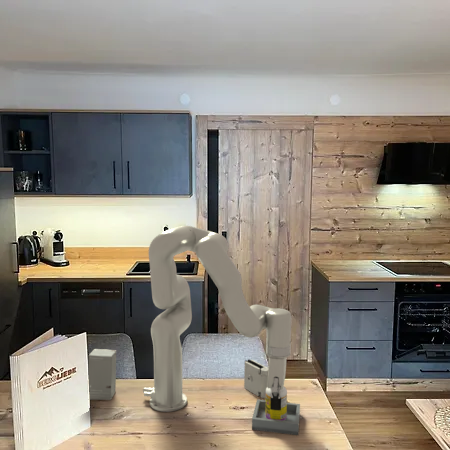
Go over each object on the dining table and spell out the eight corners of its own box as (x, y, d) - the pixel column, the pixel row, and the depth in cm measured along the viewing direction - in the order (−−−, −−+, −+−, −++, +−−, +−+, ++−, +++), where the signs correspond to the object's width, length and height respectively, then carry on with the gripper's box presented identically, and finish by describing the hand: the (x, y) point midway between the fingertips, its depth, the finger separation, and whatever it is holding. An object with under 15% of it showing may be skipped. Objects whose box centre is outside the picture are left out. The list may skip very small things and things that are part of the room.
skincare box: (87, 400, 156) (86, 356, 154) (94, 390, 163) (92, 347, 161) (112, 400, 156) (111, 356, 154) (117, 390, 163) (116, 348, 161)
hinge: (280, 396, 160) (281, 369, 158) (271, 402, 156) (272, 374, 154) (248, 384, 168) (248, 358, 167) (239, 389, 164) (239, 363, 163)
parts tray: (251, 429, 139) (252, 418, 139) (256, 409, 151) (257, 399, 150) (298, 435, 136) (298, 424, 136) (299, 414, 148) (300, 404, 148)
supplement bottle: (264, 413, 147) (265, 375, 145) (285, 413, 147) (285, 375, 145) (266, 424, 140) (266, 385, 138) (287, 424, 140) (288, 385, 138)
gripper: (268, 337, 150) (267, 388, 152) (262, 359, 133) (261, 415, 135) (292, 339, 148) (290, 390, 150) (288, 361, 131) (287, 418, 134)
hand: (276, 402), depth 143 cm, fingers open, 8 cm apart
